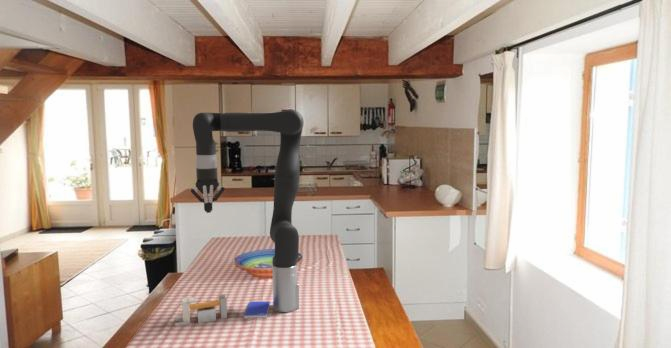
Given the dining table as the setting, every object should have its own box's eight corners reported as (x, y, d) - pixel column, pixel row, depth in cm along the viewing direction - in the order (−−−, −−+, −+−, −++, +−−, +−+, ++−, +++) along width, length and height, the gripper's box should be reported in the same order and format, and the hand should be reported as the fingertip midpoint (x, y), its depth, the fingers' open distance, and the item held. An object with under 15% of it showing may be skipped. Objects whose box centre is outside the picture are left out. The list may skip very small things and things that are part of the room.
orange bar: (225, 303, 172) (224, 298, 171) (226, 305, 170) (225, 300, 169) (189, 308, 167) (189, 303, 167) (190, 310, 165) (189, 306, 165)
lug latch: (195, 317, 169) (194, 296, 168) (196, 322, 166) (195, 300, 165) (182, 319, 168) (181, 298, 166) (183, 324, 164) (182, 302, 163)
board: (225, 309, 179) (224, 289, 178) (231, 326, 165) (231, 304, 164) (173, 317, 172) (172, 296, 171) (175, 335, 158) (174, 312, 157)
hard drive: (266, 314, 172) (270, 301, 184) (243, 315, 172) (249, 301, 184) (266, 319, 172) (270, 305, 184) (243, 319, 172) (249, 305, 184)
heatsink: (213, 313, 173) (213, 302, 172) (216, 320, 167) (215, 309, 166) (197, 316, 170) (196, 305, 170) (198, 323, 165) (198, 312, 164)
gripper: (188, 168, 169) (190, 215, 171) (226, 166, 174) (227, 212, 176) (187, 166, 176) (189, 211, 178) (223, 164, 181) (224, 209, 183)
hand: (208, 212), depth 177 cm, fingers closed
